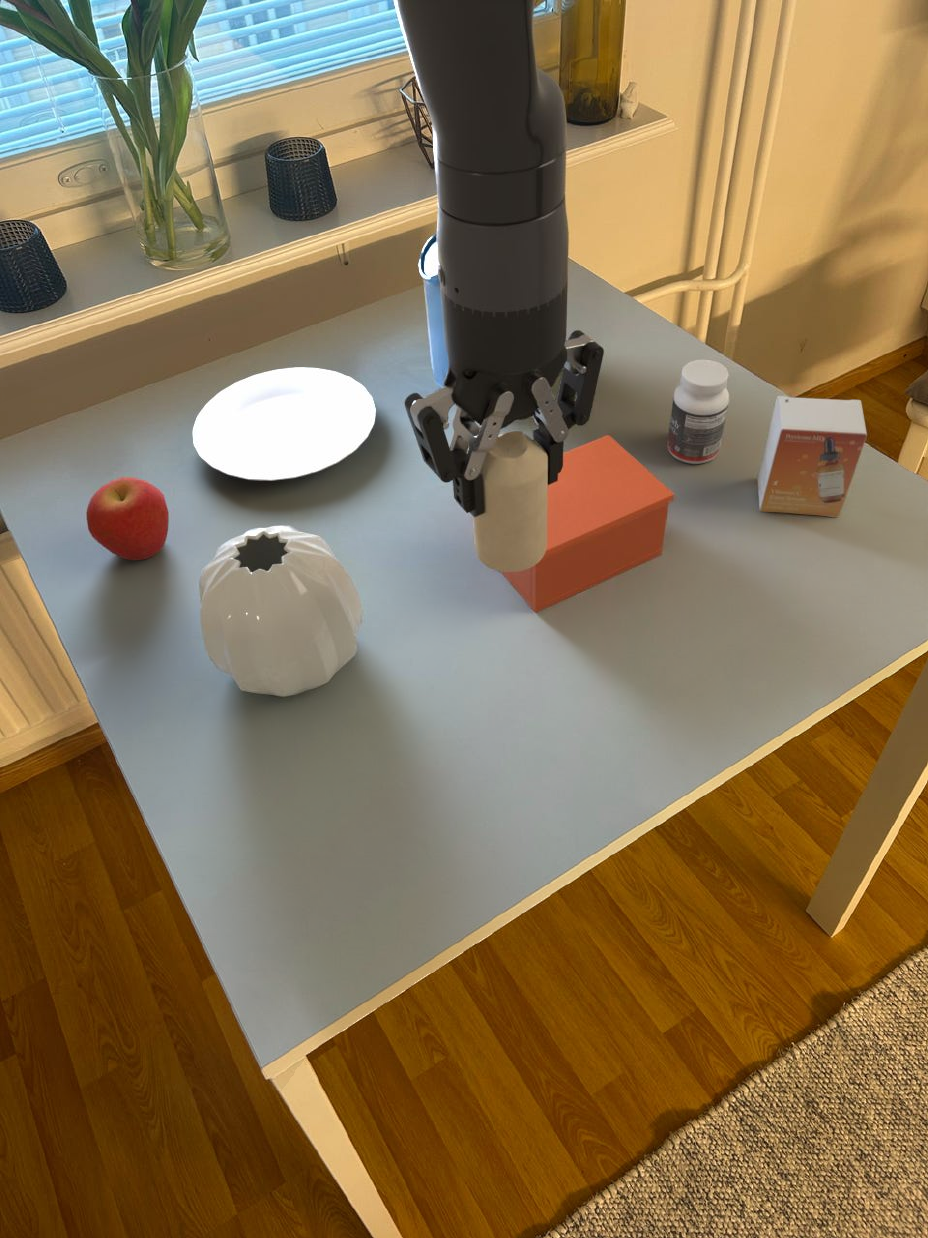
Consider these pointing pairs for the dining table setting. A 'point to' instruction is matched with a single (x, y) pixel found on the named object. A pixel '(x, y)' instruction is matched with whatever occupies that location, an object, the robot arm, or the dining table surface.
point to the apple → (129, 518)
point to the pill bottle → (698, 412)
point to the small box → (810, 455)
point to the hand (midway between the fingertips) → (509, 492)
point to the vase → (278, 611)
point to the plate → (284, 424)
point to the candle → (513, 504)
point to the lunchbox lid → (598, 493)
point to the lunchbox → (592, 560)
